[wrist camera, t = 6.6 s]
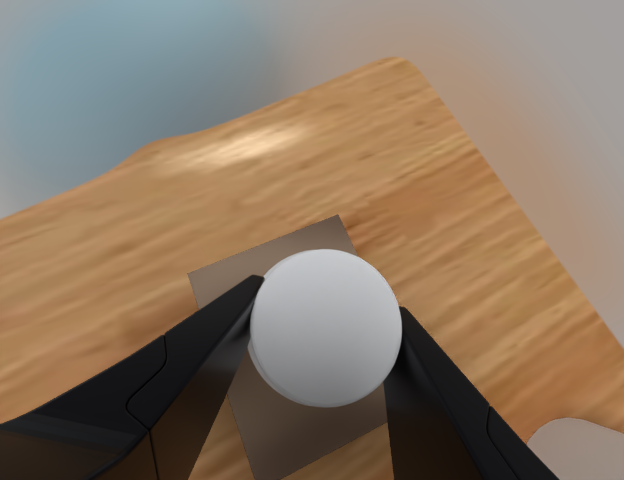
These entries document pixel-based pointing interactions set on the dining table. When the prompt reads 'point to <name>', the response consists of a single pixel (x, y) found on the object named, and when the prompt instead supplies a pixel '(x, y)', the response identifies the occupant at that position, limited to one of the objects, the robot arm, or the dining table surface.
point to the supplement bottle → (324, 328)
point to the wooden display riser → (259, 394)
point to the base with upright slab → (579, 450)
